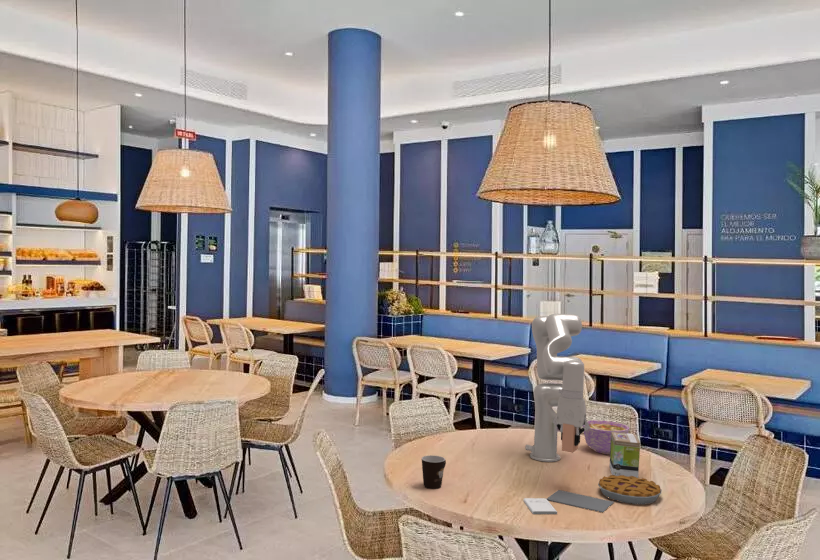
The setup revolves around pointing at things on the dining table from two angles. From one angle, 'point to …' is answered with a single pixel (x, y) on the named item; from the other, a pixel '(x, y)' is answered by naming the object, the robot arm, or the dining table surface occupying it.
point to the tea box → (624, 454)
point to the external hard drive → (539, 506)
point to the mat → (580, 501)
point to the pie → (629, 489)
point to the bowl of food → (602, 434)
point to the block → (568, 438)
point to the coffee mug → (433, 471)
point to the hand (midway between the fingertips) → (570, 443)
